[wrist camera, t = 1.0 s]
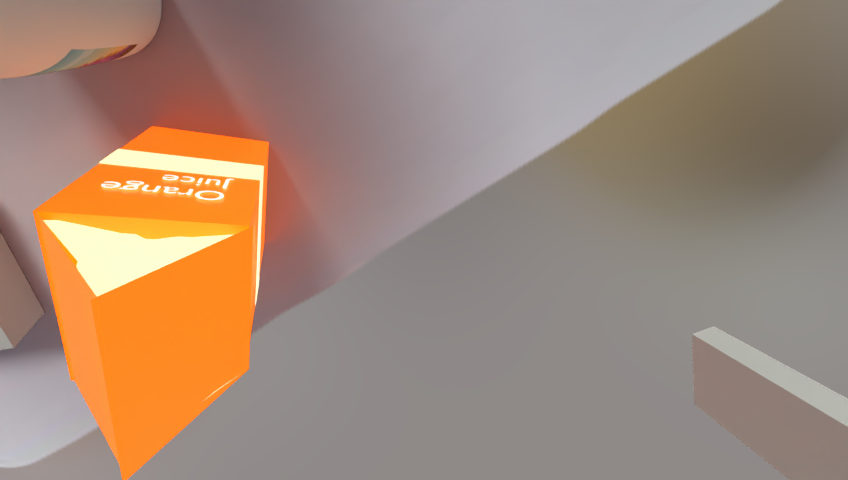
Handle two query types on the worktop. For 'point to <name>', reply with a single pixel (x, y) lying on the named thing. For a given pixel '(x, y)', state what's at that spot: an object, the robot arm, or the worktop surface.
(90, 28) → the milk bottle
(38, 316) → the toggle switch box
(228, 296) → the orange juice
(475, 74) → the worktop surface
